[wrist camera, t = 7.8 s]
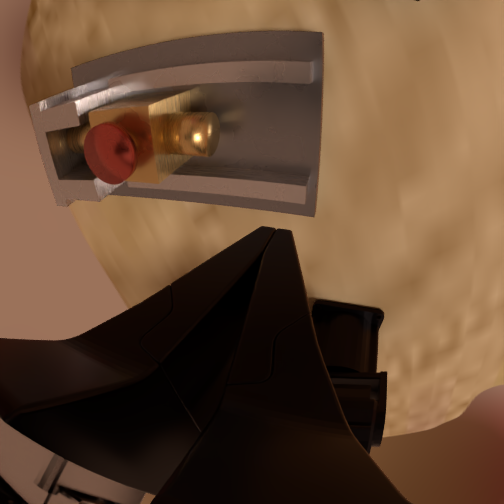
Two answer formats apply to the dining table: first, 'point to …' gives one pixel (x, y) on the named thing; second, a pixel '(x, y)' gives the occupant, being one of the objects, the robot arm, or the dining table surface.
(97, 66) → the grey metal channel
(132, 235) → the dining table surface
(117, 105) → the valve
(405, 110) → the dining table surface
